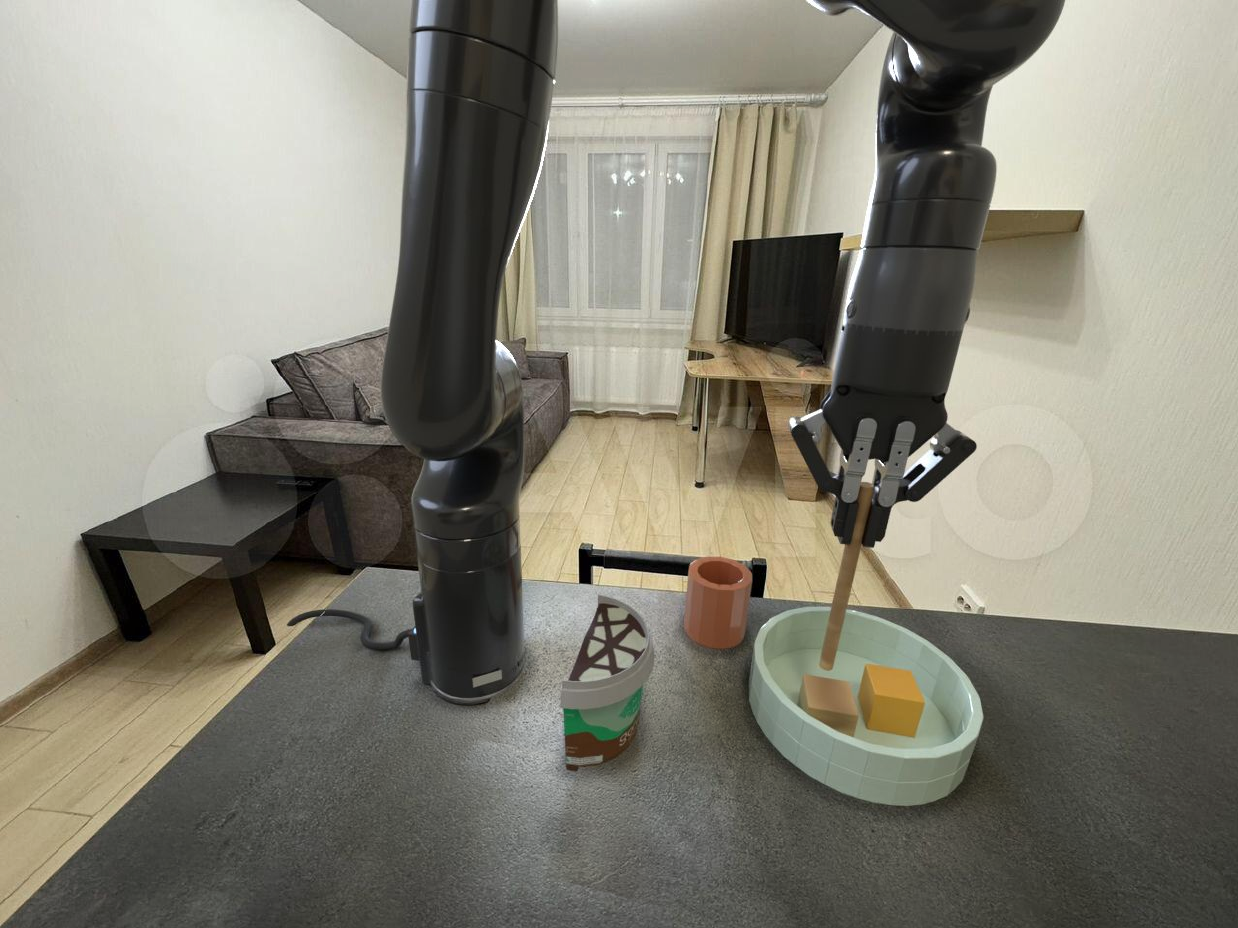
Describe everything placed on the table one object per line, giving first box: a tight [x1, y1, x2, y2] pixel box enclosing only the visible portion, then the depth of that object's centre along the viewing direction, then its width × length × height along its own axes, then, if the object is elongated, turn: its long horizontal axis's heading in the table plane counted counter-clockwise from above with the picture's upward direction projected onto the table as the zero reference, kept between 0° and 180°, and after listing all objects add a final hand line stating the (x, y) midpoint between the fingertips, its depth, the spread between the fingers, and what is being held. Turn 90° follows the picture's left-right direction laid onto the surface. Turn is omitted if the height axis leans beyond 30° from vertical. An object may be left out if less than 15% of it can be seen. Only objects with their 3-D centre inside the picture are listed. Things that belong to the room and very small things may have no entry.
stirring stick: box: [819, 481, 875, 671], centre depth 44 cm, size 1×1×18 cm
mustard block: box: [858, 664, 925, 738], centre depth 48 cm, size 4×4×4 cm
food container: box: [559, 594, 656, 772], centre depth 45 cm, size 12×6×10 cm, turn 168°
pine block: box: [797, 674, 859, 738], centre depth 46 cm, size 4×4×4 cm
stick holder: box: [683, 556, 753, 650], centre depth 58 cm, size 7×7×8 cm
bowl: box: [748, 606, 985, 807], centre depth 48 cm, size 19×19×6 cm
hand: (853, 540), depth 42 cm, fingers closed on stirring stick, 1 cm apart
